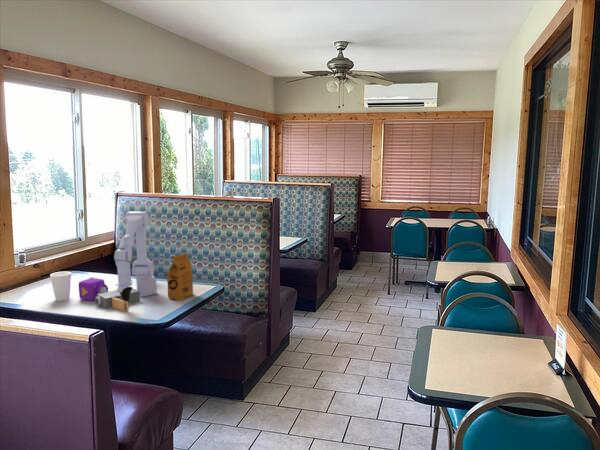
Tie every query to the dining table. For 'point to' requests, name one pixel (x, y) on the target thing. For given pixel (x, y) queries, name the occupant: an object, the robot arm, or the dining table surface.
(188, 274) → the coffee package
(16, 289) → the dining table surface
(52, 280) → the foam cup
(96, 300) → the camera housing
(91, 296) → the toy camera
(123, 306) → the door
